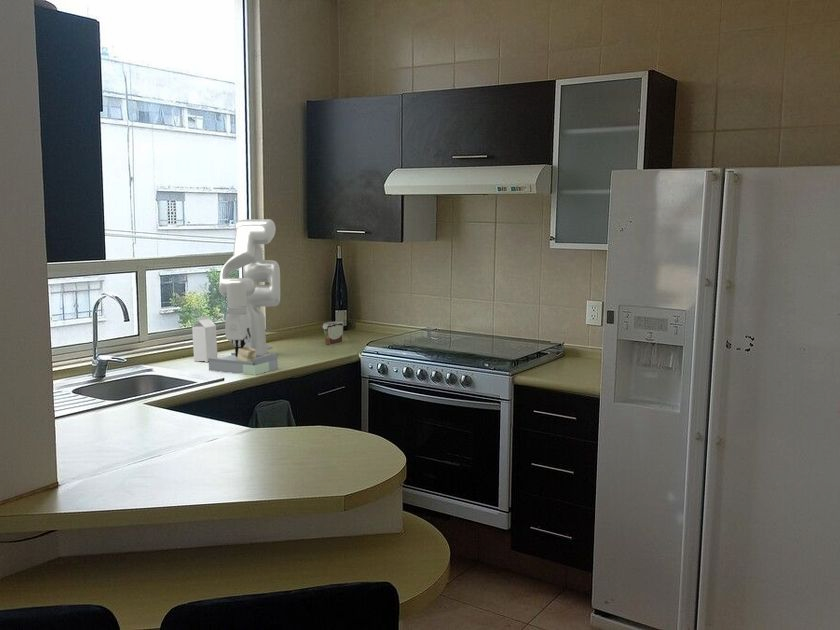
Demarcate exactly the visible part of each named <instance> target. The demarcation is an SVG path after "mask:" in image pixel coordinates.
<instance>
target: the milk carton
mask: <svg viewBox="0 0 840 630" xmlns="http://www.w3.org/2000/svg"><path fill="white" fill-rule="evenodd" d="M191 329H192V346H193V347H192V348H193V361H194V360H195V361H194V362H199V361H205V362H204V363H209V362H208V358H214V359H218V358H219V357H218V346H217V345H218V339H217V325H216V324H215V323H214V322H213V321H212V320H211V318H210V316H209V315H207V316H202V317H197V321H196V323H194V324H193V325H192V328H191Z"/></svg>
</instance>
